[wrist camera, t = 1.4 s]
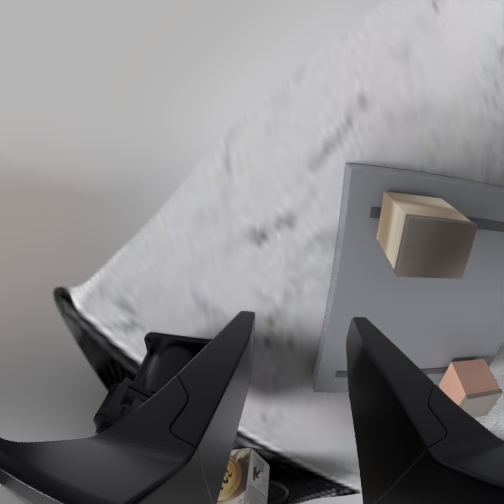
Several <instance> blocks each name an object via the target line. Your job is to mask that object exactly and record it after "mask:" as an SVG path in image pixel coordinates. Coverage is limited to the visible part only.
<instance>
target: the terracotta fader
mask: <svg viewBox="0 0 504 504" xmlns="http://www.w3.org/2000/svg"><path fill="white" fill-rule="evenodd" d="M439 386H440V388H441V390H442V391H443V392H444V393H445V394H446V395H447V396H448V397H450V398H451V399H452V400H453V401H454V402H455V403H456V404H457V405H458V406H460V407H461V408H462V409H463V410H464V411H466V412H467V413H468V414H469V415H470V416H472V417H473V418H475V417H480V416H484V415H487V414H488V412H489V411H490V410H491V408H492V407H493V406H494V404H495V403H496V401H497V400H498V399H499V397H500V396H501V394H502V393H503V392H502V390H501V389H500V388H499V386H498V384H497V382H496V380H495V378H494V376H493V375H492V373H491V371H490V369H489V367H488V365H487V363H486V362H485V360H484V359H477V360H468V361H457V362H451V363H450V365H449V367H448V369H447V371H446V373H445V375H444V377H443V378H442V380H441V382H440V384H439Z"/></svg>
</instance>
